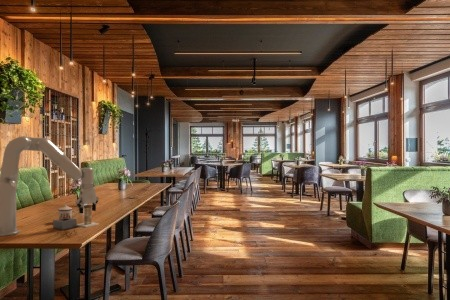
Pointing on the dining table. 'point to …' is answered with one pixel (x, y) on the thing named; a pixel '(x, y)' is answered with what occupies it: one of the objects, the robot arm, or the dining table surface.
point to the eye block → (64, 223)
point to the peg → (87, 214)
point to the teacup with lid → (66, 212)
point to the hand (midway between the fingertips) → (87, 211)
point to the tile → (87, 225)
